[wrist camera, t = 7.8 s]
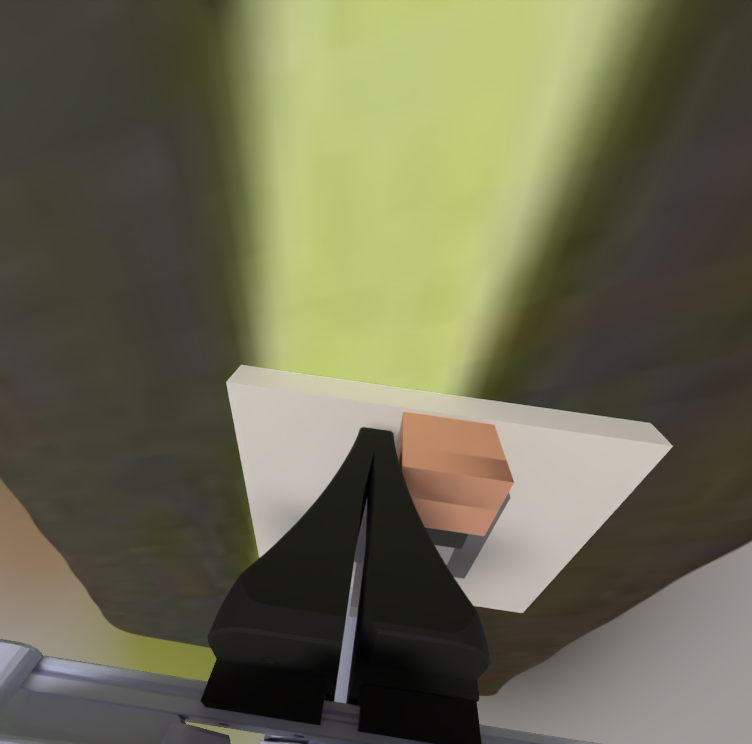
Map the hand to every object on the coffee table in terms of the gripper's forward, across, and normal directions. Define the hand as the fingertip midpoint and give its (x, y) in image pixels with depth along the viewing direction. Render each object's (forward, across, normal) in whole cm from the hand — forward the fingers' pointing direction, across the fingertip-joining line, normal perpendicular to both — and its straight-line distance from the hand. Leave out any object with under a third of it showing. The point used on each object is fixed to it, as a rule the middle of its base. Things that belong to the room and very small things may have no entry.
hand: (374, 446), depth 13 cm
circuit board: (+3, -3, +8) cm, 9 cm away
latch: (+2, -3, +1) cm, 4 cm away
